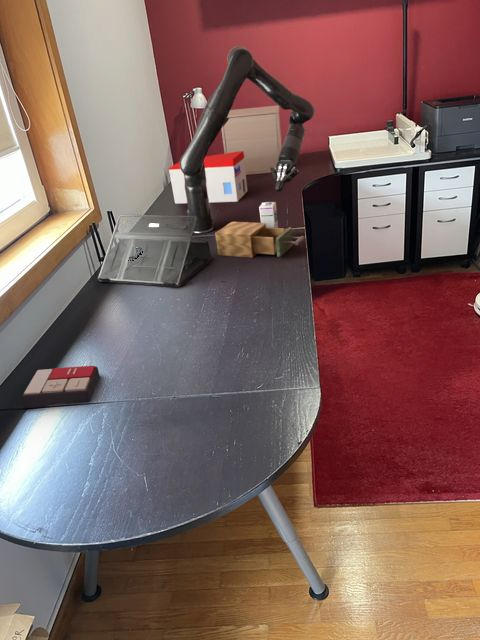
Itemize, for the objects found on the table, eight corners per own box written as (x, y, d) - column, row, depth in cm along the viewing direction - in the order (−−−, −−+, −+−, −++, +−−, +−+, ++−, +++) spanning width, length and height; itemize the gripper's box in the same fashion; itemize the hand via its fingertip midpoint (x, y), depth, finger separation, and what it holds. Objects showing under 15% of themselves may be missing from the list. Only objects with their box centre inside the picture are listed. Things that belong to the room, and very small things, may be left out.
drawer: (308, 246, 191) (307, 228, 188) (295, 258, 182) (294, 239, 178) (261, 242, 199) (259, 225, 196) (246, 254, 190) (244, 236, 186)
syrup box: (276, 242, 201) (273, 205, 194) (262, 242, 203) (258, 206, 195) (279, 237, 206) (276, 201, 199) (265, 237, 207) (261, 202, 200)
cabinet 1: (226, 176, 315) (219, 116, 298) (231, 166, 340) (224, 110, 322) (282, 171, 312) (278, 110, 295) (283, 162, 337) (279, 105, 320)
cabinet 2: (267, 245, 199) (265, 223, 195) (252, 257, 189) (250, 234, 184) (234, 242, 205) (232, 221, 201) (218, 255, 195) (215, 232, 190)
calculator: (86, 388, 116) (20, 393, 116) (90, 404, 118) (25, 408, 118) (97, 363, 125) (36, 367, 125) (100, 377, 128) (40, 381, 127)
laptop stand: (96, 283, 181) (82, 233, 172) (138, 255, 203) (128, 209, 194) (177, 289, 170) (167, 236, 161) (212, 258, 192) (205, 210, 183)
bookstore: (238, 201, 260) (233, 159, 250) (175, 203, 269) (167, 162, 258) (248, 191, 277) (243, 150, 267) (188, 193, 286) (182, 154, 275)
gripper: (272, 145, 204) (259, 185, 203) (300, 145, 197) (287, 186, 196) (281, 155, 210) (268, 194, 209) (308, 155, 203) (296, 196, 202)
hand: (278, 190), depth 202 cm, fingers closed
